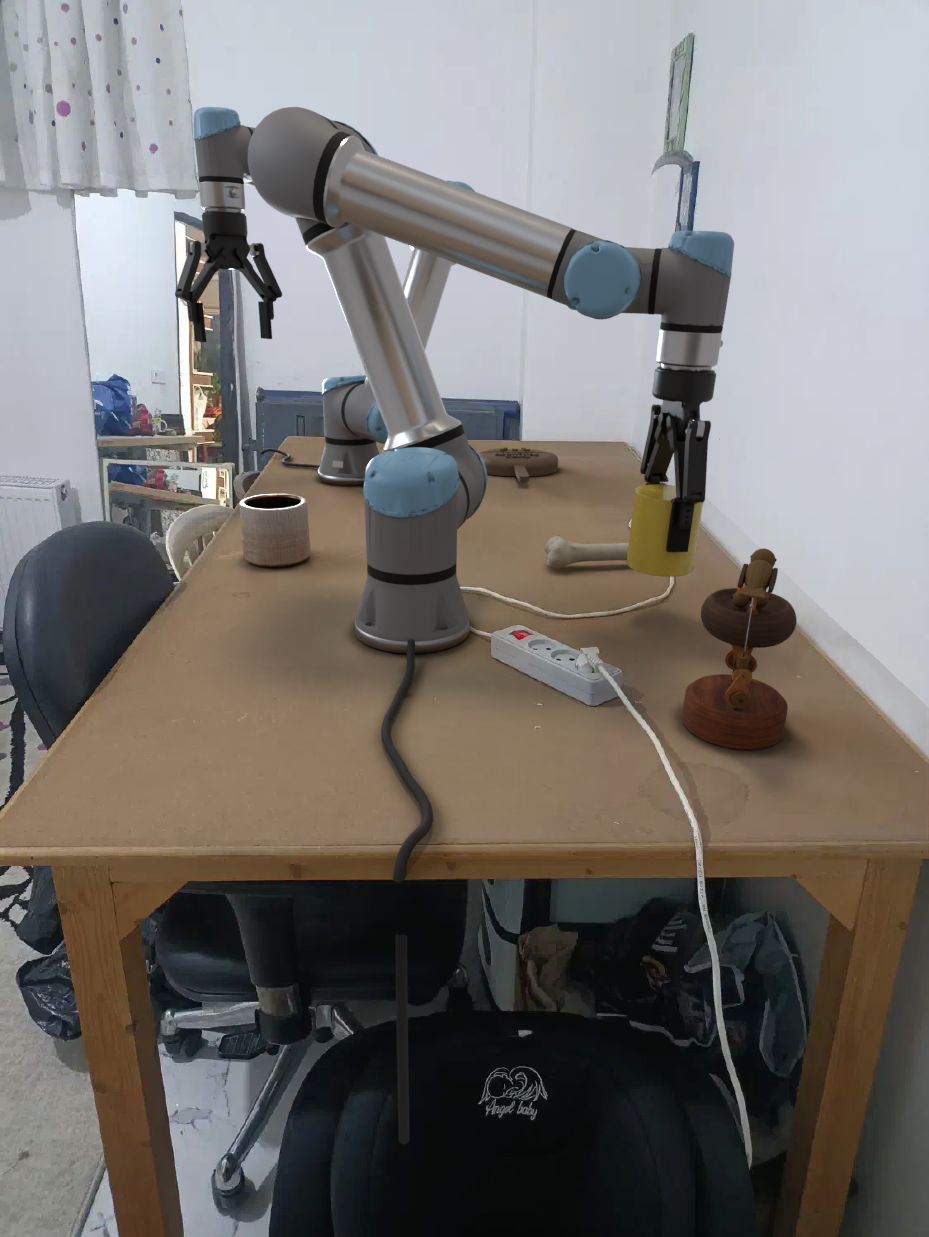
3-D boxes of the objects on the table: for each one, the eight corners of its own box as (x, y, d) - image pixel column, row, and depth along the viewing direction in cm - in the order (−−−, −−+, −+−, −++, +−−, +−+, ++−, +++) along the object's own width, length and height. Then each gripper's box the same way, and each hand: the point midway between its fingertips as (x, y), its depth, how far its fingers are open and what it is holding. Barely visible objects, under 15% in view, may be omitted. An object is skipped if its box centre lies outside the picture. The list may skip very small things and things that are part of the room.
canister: (702, 564, 117) (713, 492, 113) (678, 581, 110) (689, 505, 106) (642, 551, 121) (651, 481, 117) (615, 566, 114) (623, 492, 110)
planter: (241, 550, 144) (236, 495, 140) (306, 545, 147) (302, 491, 143) (246, 570, 134) (241, 512, 130) (314, 565, 137) (311, 507, 133)
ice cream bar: (477, 487, 188) (478, 469, 187) (471, 461, 214) (471, 445, 212) (571, 488, 189) (572, 469, 188) (553, 462, 215) (554, 445, 213)
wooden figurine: (804, 761, 84) (822, 570, 76) (690, 761, 85) (697, 574, 78) (770, 691, 98) (782, 524, 90) (673, 692, 99) (677, 527, 92)
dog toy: (655, 557, 144) (658, 529, 142) (669, 569, 138) (672, 539, 136) (540, 562, 140) (541, 533, 139) (549, 574, 135) (551, 544, 133)
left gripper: (166, 206, 136) (181, 344, 144) (296, 215, 152) (303, 338, 160) (145, 208, 141) (160, 341, 149) (273, 216, 157) (280, 336, 165)
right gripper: (754, 378, 96) (724, 565, 105) (680, 358, 116) (659, 517, 125) (692, 377, 95) (666, 566, 104) (628, 357, 115) (611, 517, 123)
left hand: (234, 340), depth 155 cm, fingers open, 13 cm apart
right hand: (663, 539), depth 114 cm, fingers closed on canister, 9 cm apart
